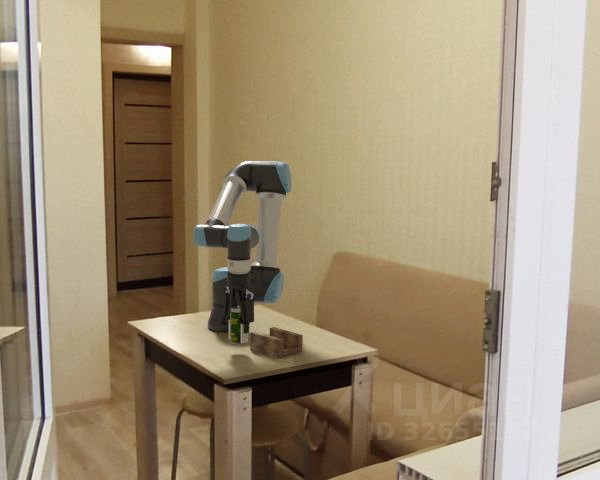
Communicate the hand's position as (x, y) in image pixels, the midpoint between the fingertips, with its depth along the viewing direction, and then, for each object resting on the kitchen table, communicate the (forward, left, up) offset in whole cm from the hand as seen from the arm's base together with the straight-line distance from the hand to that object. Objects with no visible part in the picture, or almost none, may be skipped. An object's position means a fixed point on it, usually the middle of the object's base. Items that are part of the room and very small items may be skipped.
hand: (238, 340), depth 228 cm
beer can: (0, 0, -1) cm, 1 cm away
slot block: (+6, +11, -4) cm, 14 cm away
